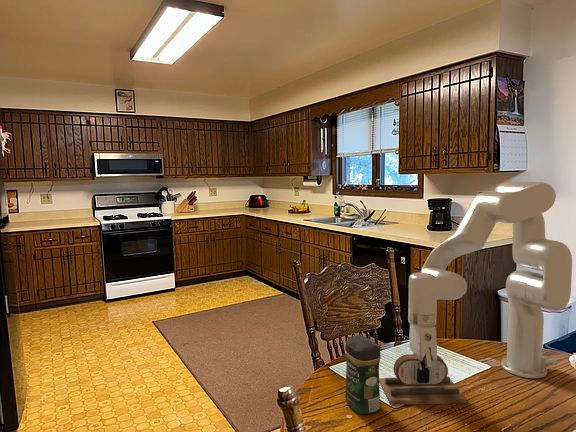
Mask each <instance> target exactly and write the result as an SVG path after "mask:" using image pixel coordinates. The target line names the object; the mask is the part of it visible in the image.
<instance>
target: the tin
mask: <svg viewBox="0 0 576 432" xmlns="http://www.w3.org/2000/svg"><path fill="white" fill-rule="evenodd" d="M424 358H425V357H424ZM423 363H425V362H422V364H423ZM431 363H432V368H430V370H429V383H418V382H417V369H419V360H418V358H417V357H416V356H415V354H413V353H412V354H410V353H409V354H407V353H406V354H403V355H401V356H399V357H398V358H397V359H396V360H395V362H394V365H393V373H394V375H395V378H396V377H397V379H398V380H399V381H400V382H401V383H402V384H404V385H408V386H436V385H439V384H441V383H443V382H444V381H445V379H446V378H447V376H449V368H448V366H447V364H446V362H445V361H444V359H443V358H442V357H441V356H439V355H437V360H436V361H433V360H432V358H431Z"/></svg>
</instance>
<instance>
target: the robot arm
mask: <svg viewBox="0 0 576 432" xmlns="http://www.w3.org/2000/svg"><path fill="white" fill-rule="evenodd" d="M556 198H557V195H556V191H555V188H554V187H553V186H552V185H551V184H549V183H547V182H544V181H543V182H539V181H505V182H502V183H499V184H497V186H496V187H495V189H494V191H485V192H479V193H478V194H476V195H475V196H474V197H473V199H472V201H471V202H470V204H469V206H468V208H467V209H466V211H465V214H464V215H463V218H462V219H461V221H460V223H459V224H458V227H457V228H456V229H455V232H453V234H452V235H451V236H449V237H448V238H446V239H445V240H443V242H441V243H440V244H439V245H437V246H436V247H435V248H434V249H433V250H432V251H431V252H430V254H428V257H427V258H426V260H425V262H424V264H423V266H422V267H421V270H420V272H419V271H418V272H413V273H411V274H410V275H409V276H408V305H407V307H408V308H407V309H408V311H407V313H408V315H407V320H408V321H407V322H408V323H409V337H408V341H409V342H408V343H409V349H410V350H411V351H412V354H415V356H416V357H417V358H418V360H419V369H417V382H418V383H429V370H430V368H432V363H431V358H432V360H433V361H436V360H437V356H438V345H437V344H438V343H437V331H436V325H437V312H438V311H437V310H438V309H437V307H438V306H437V305H438V304H437V303H438V302H437V301H438V300H443V301H444V300H445V301H448V300H449V301H454V300H458V299H461V298H462V297H463V296H464V295H465V294H466V293H467V291H468V283H467V281H466V279H465V278H464V277H463V276H461V275H460V274H458V273H455V272H452V271H450V270H449V271H448V270H446V269H447V267H448V265H450V263H452V261H454V260H455V259H457V258H459V257H461V256H463V255H467V254H470V253H474V252H476V251H477V252H478V251H480V250H482V249H483V248H484V247H485V246H486V242H487V240H488V239H489V237H490V235H491V233H492V231H493V229H494V228H495V227H496V224H497V223H503V224H512V245H511V246H512V250H511V252H512V259H513V262H514V263H515V264H516V265H519V266H520V267H525V268H528V269H531V270H536V271H540V272H542V273H538V272H534V271H530V270H525V269H524V270H523V269H521V270H520V269H519V270H515V271H512V272H511V273H510V274H509V275H508V276H507V278H506V282H505V289H506V290H505V291H506V296H507V303H508V315H507V317H508V319H507V321H508V322H507V324H508V325H507V344H506V345H507V347H506V357H504V358H502V359H501V360H500V362H501V363H500V364H501V365H500V366H501V367H502V368H503V369H504V370H505V372H508V373H509V374H513V375H515V376H518V377H521V378H527V379H542V378H544V377H546V376H547V375H548V369H547V367H548V365H550V366H557V365H558V360H557V358H554V357H553V358H549V357H548V356H547V355H543V345H544V343H543V340H544V322H545V319H544V313H543V310H542V309H545V310H549V311H554V312H556V311H558V312H559V311H562V310H564V309H566V307H567V306H568V304H569V302H570V299H571V295H572V281H573V280H572V279H573V278H572V277H573V276H572V275H573V274H572V273H573V255H572V252H571V250H570V248H569V247H568V246H567V245H566V244H565V243H564V242H561V241H558V240H553V239H547V237H546V224H545V223H546V221H545V217H544V215H543V214H544V213H546V212H547V211H549V210H550V209H552V207H553V206H554V204H555V203H556ZM424 357H425V358H424ZM422 362H425V363H423V364H422Z"/></svg>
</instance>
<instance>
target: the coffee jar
mask: <svg viewBox="0 0 576 432" xmlns="http://www.w3.org/2000/svg"><path fill="white" fill-rule="evenodd" d="M344 351H345V352H344V354H345V365H346V367H345V369H346V370H345V373H346V374H345V391H344V392H345V395H344V397H345V402H346V404H348V406H349V407H350V409H352V410H353V411H355V412H356V413H358V414H360V415H362V414H363V415H372V414H374V413H376V412H377V411H379V410H380V409H381V392H380V391H381V390H380V389H381V388H380V383H379V378H380V361H381V356H382V354H381V348H380V346H379V344H378V343H376V342H374V341H373V340H371V339H370V338H367V337H365V336H363V335H362V334H358V335H353V336H349V337H348V338H347V339H346V340H345V348H344Z"/></svg>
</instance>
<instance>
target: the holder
mask: <svg viewBox="0 0 576 432" xmlns="http://www.w3.org/2000/svg"><path fill="white" fill-rule="evenodd" d="M379 386H380V387H381V389H382V391H383V393H384V395H386V396H385V398H386V397H387V398H386V400H387V399H388V400H387V402H388V401H389V402H388V404H389V405H390V406H392V405H391V404H406V405H435V404H436V405H438V404H439V405H441V404H442V405H443V404H467V403H468V402H467V401H468V399H467V397H466V396H465V395H464V393H463V392H462V391H461V390H460V387H458V386H457V385H456V384H455V383H454V382H453V381H452V379H451V377H450V376H449V375H447V378H446V379H445V381H444V382H443V383H441V384H439V385H436V386H408V385H404V384H402V383H401V382H400V381H399V380H398V379H397V377H396V376H395V377H384V378H383V377H382V378H380V377H379Z"/></svg>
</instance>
